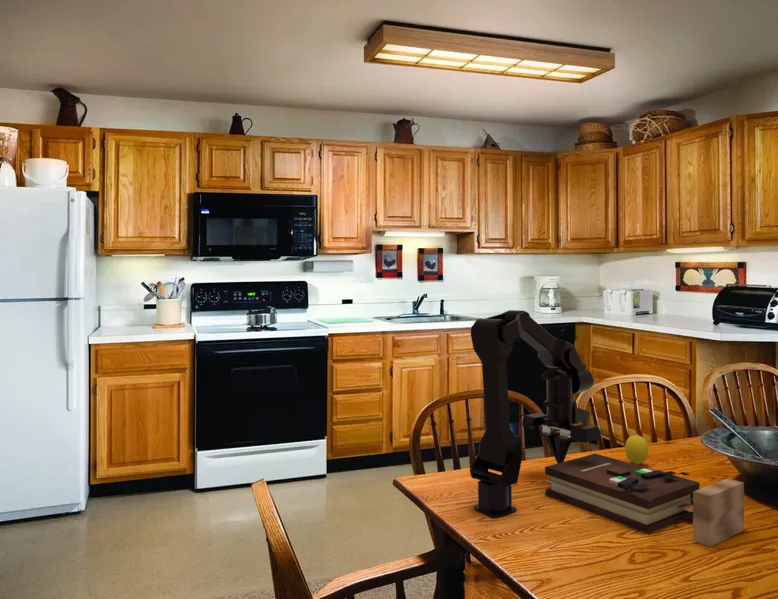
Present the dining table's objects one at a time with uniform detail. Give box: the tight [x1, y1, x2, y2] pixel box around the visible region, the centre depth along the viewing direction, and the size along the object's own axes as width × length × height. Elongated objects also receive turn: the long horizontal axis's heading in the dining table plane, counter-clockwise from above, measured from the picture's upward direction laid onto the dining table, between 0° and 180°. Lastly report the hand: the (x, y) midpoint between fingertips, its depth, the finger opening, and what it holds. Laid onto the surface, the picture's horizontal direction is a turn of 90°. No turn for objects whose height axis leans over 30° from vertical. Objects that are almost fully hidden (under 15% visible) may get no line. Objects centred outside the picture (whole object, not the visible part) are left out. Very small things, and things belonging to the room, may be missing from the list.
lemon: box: [624, 433, 650, 466], centre depth 153 cm, size 6×6×8 cm
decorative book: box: [544, 453, 701, 535], centre depth 127 cm, size 19×8×30 cm
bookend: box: [692, 477, 745, 548], centre depth 111 cm, size 12×3×9 cm, turn 124°
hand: (560, 463), depth 141 cm, fingers closed
